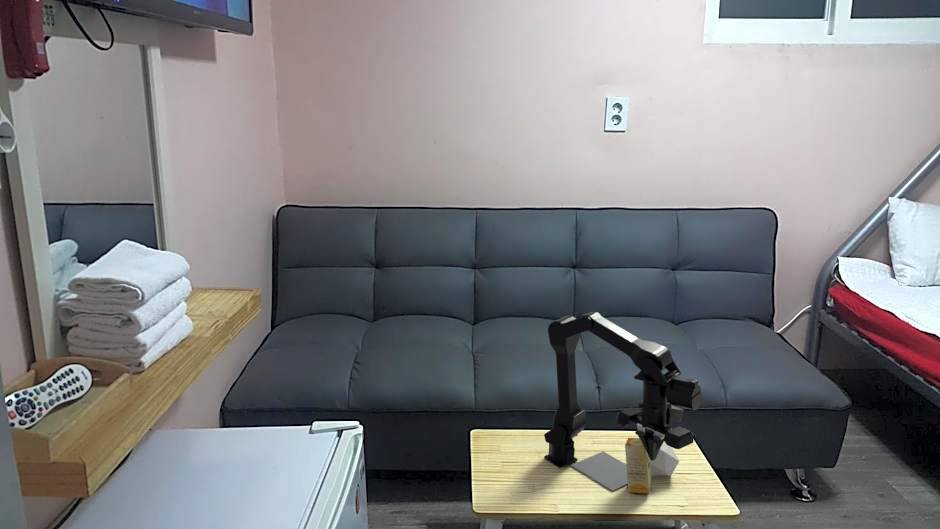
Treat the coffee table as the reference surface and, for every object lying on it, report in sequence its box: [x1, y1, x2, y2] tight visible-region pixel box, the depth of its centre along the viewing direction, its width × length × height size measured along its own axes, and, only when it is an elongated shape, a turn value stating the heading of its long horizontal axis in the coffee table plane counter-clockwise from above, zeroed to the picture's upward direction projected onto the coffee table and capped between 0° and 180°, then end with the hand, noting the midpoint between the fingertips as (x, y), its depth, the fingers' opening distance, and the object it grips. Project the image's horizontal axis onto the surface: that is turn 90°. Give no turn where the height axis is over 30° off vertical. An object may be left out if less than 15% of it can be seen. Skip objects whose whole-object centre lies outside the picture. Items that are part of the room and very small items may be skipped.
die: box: [650, 442, 680, 477], centre depth 183 cm, size 8×9×10 cm
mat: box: [570, 451, 628, 493], centre depth 184 cm, size 14×12×1 cm
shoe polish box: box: [624, 437, 652, 495], centre depth 175 cm, size 5×5×12 cm
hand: (653, 460), depth 171 cm, fingers closed
